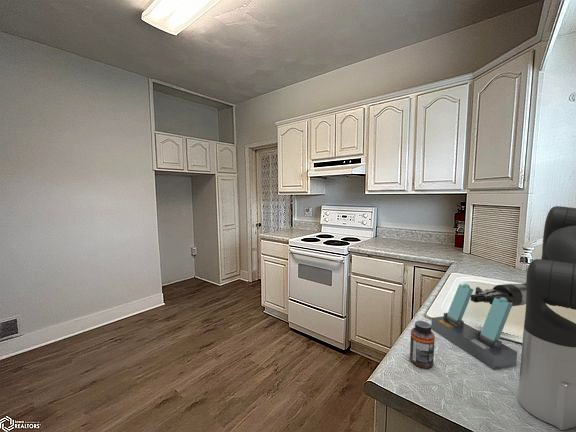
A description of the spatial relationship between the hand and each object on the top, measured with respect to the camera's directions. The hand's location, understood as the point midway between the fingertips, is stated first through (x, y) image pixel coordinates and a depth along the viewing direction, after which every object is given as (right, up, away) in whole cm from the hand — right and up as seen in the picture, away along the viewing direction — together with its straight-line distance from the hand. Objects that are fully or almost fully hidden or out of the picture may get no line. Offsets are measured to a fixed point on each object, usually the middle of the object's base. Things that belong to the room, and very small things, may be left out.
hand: (472, 298), depth 88 cm
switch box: (-6, -12, -7) cm, 15 cm away
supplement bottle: (-26, -13, -15) cm, 33 cm away
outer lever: (-7, -7, -1) cm, 10 cm away
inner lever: (-5, -8, -13) cm, 16 cm away
